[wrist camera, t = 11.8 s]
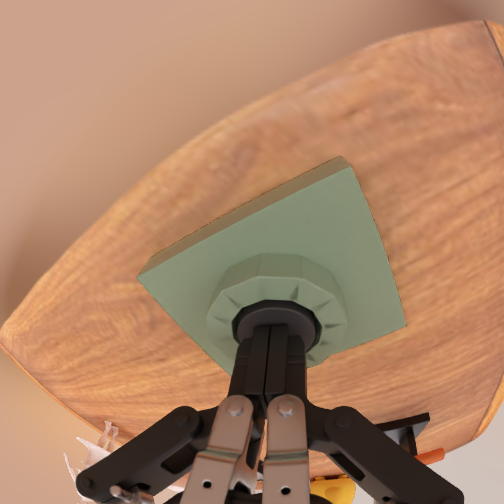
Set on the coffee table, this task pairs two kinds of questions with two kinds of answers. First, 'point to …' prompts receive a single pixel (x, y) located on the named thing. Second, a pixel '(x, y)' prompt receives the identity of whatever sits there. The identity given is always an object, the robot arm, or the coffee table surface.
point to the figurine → (94, 454)
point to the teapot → (334, 489)
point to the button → (278, 319)
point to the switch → (431, 456)
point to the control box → (283, 267)
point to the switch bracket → (405, 432)
